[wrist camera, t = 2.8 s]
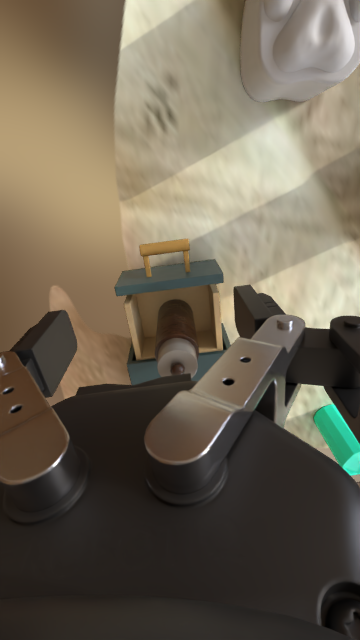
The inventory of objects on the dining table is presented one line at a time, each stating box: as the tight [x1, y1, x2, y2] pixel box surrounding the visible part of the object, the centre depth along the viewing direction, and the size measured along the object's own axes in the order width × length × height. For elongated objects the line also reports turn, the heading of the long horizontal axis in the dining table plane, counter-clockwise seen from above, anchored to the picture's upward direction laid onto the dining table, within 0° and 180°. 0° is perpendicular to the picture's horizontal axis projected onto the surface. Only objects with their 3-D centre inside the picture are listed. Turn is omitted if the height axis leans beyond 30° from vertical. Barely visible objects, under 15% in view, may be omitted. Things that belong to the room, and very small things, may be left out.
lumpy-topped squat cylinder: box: [240, 0, 360, 102], centre depth 27 cm, size 10×13×9 cm
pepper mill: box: [155, 299, 199, 378], centre depth 37 cm, size 5×5×14 cm
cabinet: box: [127, 323, 231, 385], centre depth 45 cm, size 12×14×8 cm
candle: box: [314, 404, 360, 476], centre depth 50 cm, size 6×6×12 cm
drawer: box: [115, 239, 224, 360], centre depth 39 cm, size 16×13×7 cm
